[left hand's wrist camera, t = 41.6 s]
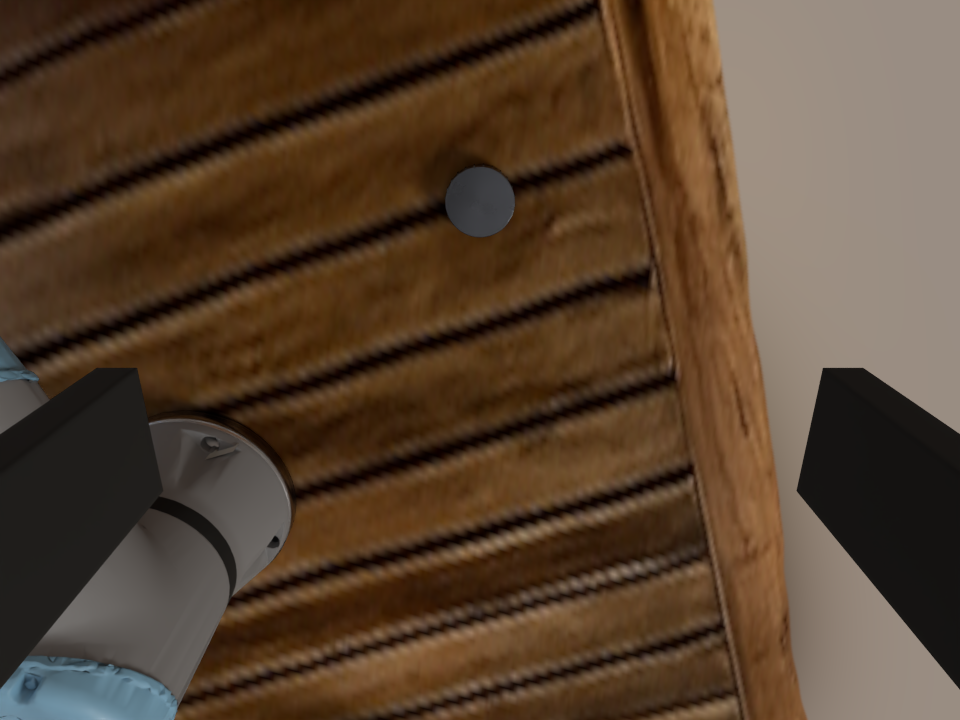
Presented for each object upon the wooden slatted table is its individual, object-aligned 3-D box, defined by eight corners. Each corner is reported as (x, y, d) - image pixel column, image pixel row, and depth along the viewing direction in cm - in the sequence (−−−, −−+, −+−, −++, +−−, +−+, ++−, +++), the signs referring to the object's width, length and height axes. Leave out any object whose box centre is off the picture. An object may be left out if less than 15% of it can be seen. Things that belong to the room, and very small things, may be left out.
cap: (481, 247, 44) (481, 252, 43) (431, 201, 43) (430, 204, 42) (528, 197, 43) (530, 200, 42) (478, 148, 42) (478, 150, 40)
